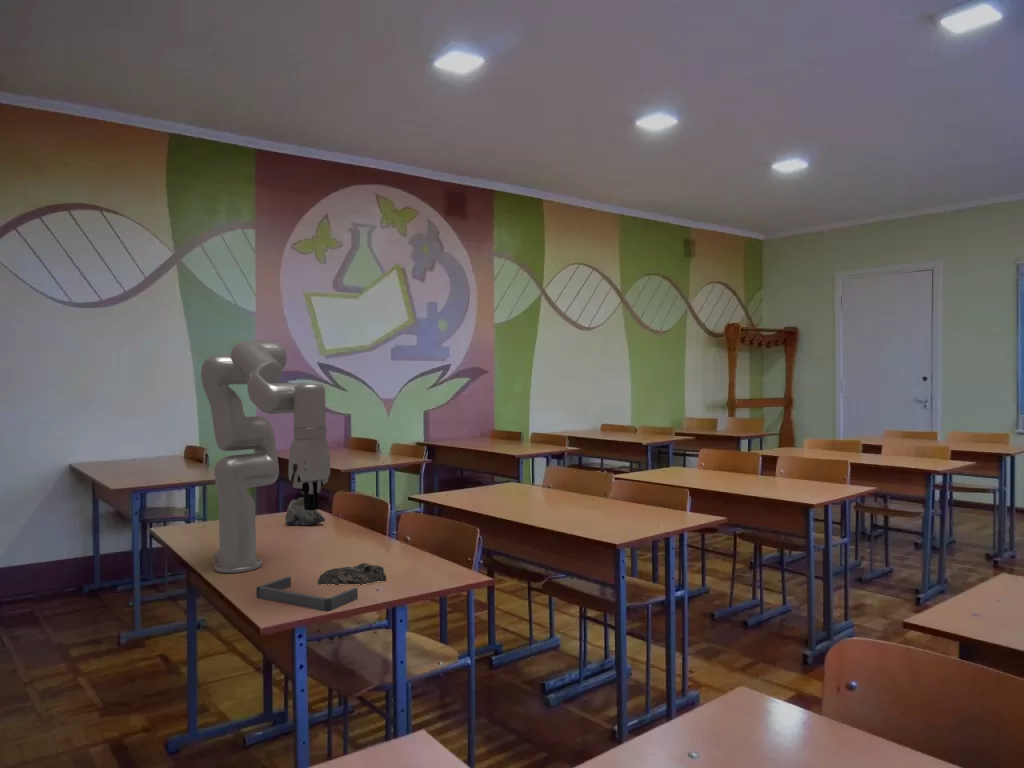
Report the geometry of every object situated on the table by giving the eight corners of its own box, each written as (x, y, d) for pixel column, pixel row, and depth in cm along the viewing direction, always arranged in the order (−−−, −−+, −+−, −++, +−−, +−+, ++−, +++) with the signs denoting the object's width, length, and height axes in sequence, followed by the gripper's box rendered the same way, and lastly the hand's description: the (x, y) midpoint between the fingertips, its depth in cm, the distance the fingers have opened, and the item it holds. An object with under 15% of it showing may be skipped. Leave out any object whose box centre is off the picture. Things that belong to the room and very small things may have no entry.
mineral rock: (326, 525, 259) (326, 497, 259) (298, 530, 252) (298, 501, 252) (309, 520, 269) (309, 493, 269) (282, 525, 261) (281, 497, 261)
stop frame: (256, 597, 176) (256, 587, 176) (288, 586, 185) (287, 576, 185) (327, 611, 165) (327, 600, 165) (357, 598, 174) (357, 588, 174)
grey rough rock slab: (401, 579, 191) (374, 568, 203) (401, 565, 191) (374, 554, 203) (334, 594, 179) (309, 581, 191) (333, 579, 179) (309, 567, 191)
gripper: (320, 431, 185) (321, 503, 185) (275, 436, 172) (276, 513, 172) (342, 432, 181) (344, 505, 181) (298, 437, 168) (300, 516, 168)
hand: (311, 509), depth 177 cm, fingers closed
